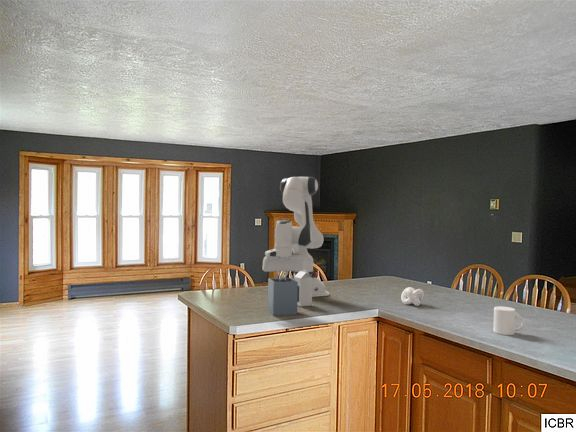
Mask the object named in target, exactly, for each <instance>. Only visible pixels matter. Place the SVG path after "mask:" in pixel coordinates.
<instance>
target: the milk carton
mask: <svg viewBox="0 0 576 432" xmlns="http://www.w3.org/2000/svg"><path fill="white" fill-rule="evenodd" d="M293 279H294V280H296V281H297V282H298V285H299V302H297V307H308V306H309V307H310V306H312V305H313V297H312V277H311V276H310V275H309V273H308V272H307V270H302V271H299V272H298V273H297V274H296V275H295V276H294V275H293Z"/></svg>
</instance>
